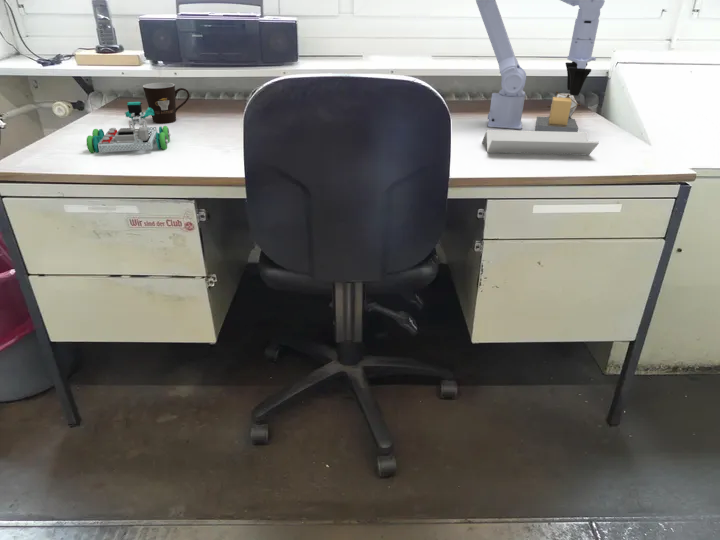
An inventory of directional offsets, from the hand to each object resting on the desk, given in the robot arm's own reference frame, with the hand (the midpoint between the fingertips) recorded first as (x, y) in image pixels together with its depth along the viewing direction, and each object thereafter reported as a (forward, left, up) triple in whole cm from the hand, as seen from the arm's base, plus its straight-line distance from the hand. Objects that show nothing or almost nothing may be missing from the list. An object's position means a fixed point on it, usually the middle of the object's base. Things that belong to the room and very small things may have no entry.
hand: (572, 92), depth 146 cm
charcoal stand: (-4, -8, -10) cm, 14 cm away
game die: (0, +14, -11) cm, 18 cm away
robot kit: (-109, -43, -11) cm, 118 cm away
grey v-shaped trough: (-9, -23, -11) cm, 27 cm away
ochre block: (-3, -8, -6) cm, 11 cm away
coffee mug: (-112, -22, -11) cm, 115 cm away
